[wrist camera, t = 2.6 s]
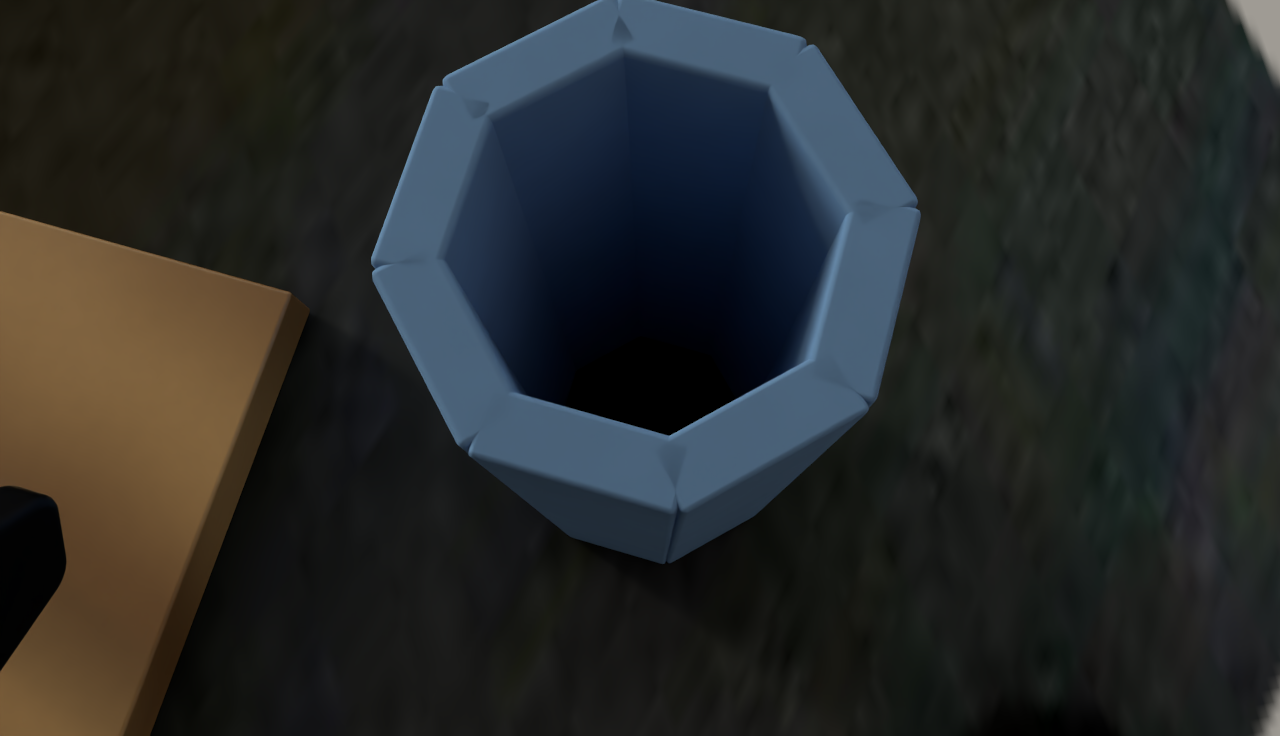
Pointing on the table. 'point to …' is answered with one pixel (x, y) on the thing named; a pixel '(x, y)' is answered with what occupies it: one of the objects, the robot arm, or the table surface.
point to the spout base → (126, 457)
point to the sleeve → (647, 262)
